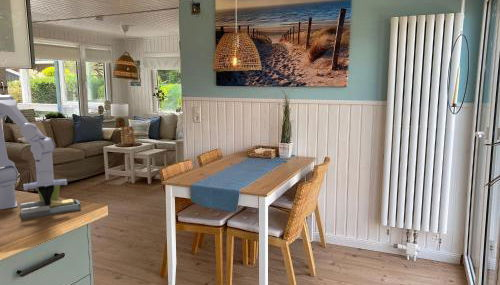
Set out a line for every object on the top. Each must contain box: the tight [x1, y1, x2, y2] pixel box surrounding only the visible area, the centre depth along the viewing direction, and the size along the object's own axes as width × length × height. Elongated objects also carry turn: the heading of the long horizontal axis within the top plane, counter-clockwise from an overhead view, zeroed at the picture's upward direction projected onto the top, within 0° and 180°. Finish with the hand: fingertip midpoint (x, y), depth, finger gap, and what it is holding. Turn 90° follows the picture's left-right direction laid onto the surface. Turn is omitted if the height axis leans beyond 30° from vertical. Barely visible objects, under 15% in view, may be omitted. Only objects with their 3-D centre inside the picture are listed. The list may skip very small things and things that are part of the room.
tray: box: [50, 198, 82, 215], centre depth 151 cm, size 8×11×2 cm
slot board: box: [19, 200, 51, 220], centre depth 146 cm, size 9×9×4 cm
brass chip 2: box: [60, 198, 74, 206], centre depth 152 cm, size 4×4×2 cm
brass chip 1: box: [50, 199, 63, 208], centre depth 149 cm, size 4×4×2 cm
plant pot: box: [36, 185, 61, 201], centre depth 156 cm, size 9×9×9 cm
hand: (47, 205), depth 148 cm, fingers closed
